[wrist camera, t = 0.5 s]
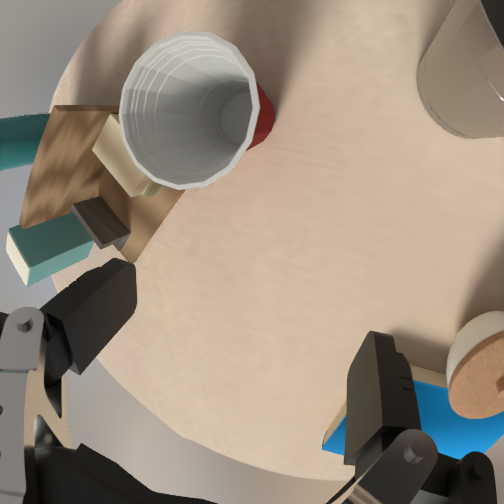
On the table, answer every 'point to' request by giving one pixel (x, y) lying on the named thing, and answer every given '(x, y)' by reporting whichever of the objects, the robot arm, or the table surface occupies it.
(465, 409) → the lidded jar
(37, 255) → the teal book
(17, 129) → the beverage bottle
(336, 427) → the book
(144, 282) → the table surface
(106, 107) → the shelf
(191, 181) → the plastic cup
